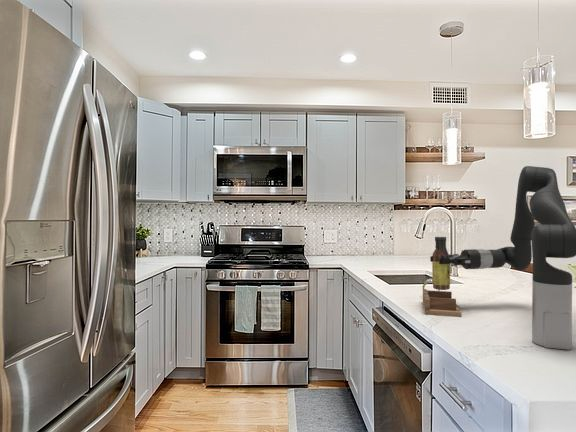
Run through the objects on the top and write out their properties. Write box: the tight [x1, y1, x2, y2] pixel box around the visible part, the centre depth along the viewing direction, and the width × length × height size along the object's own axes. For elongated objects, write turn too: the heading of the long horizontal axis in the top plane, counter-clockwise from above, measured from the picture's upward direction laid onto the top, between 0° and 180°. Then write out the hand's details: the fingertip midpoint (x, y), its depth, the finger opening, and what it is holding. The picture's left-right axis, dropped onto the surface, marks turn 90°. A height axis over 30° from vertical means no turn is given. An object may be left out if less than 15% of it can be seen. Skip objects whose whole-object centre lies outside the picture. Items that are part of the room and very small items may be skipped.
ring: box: [422, 278, 441, 291], centre depth 171 cm, size 7×3×8 cm, turn 58°
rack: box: [422, 288, 462, 318], centre depth 150 cm, size 20×12×6 cm, turn 164°
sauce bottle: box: [431, 236, 451, 291], centre depth 149 cm, size 7×6×20 cm
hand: (435, 260), depth 149 cm, fingers closed on sauce bottle, 6 cm apart
